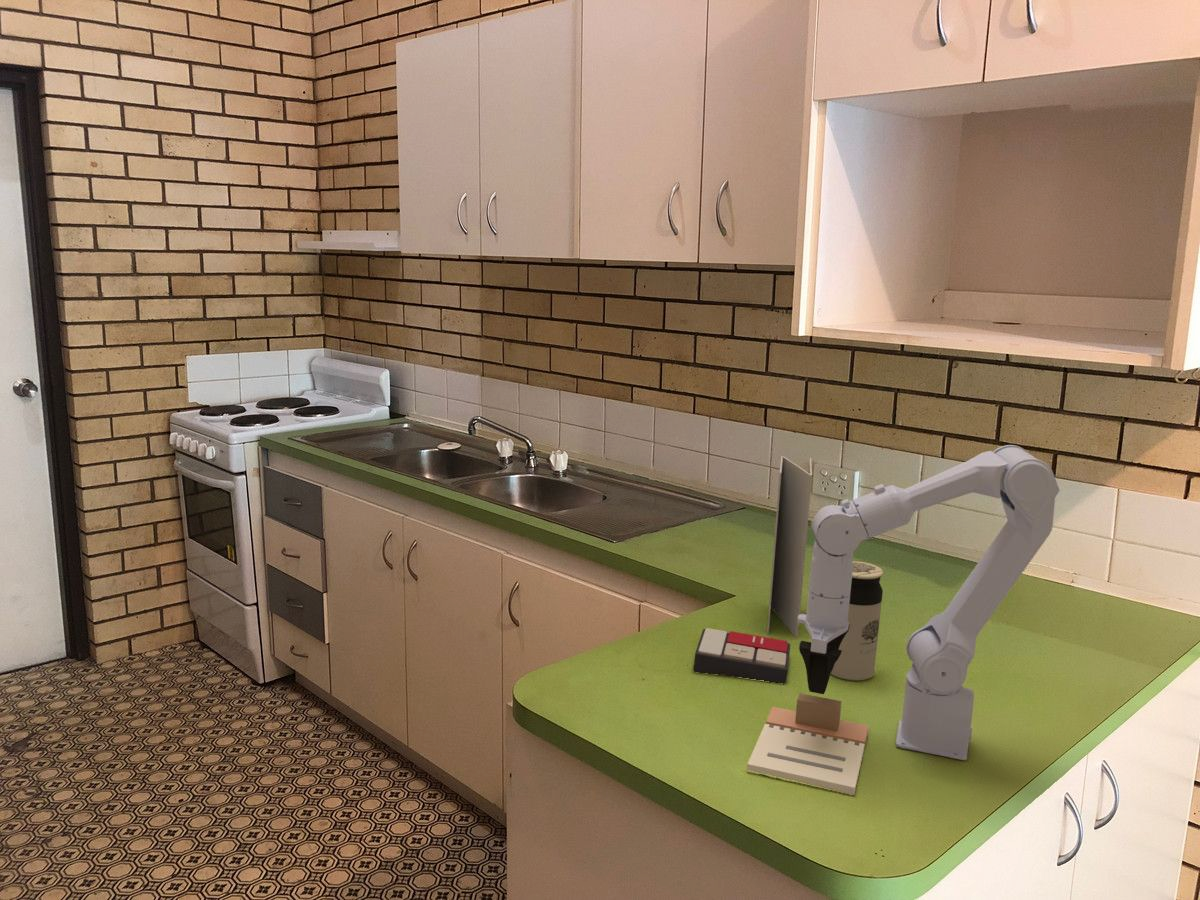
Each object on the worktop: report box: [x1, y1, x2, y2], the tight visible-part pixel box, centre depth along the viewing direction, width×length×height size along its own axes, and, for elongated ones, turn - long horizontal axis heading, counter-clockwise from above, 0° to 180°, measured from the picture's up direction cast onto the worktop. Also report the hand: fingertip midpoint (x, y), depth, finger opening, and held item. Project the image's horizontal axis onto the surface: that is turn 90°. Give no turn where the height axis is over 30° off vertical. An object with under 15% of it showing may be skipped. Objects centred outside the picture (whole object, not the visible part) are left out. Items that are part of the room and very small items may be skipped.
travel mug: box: [830, 560, 884, 682], centre depth 160 cm, size 8×8×18 cm
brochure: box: [766, 455, 813, 638], centre depth 179 cm, size 14×6×30 cm, turn 168°
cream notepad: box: [746, 723, 866, 796], centre depth 133 cm, size 14×12×1 cm
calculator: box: [692, 627, 791, 685], centre depth 163 cm, size 11×4×15 cm
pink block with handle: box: [765, 692, 870, 750], centre depth 141 cm, size 14×5×5 cm, turn 69°
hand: (820, 680), depth 140 cm, fingers open, 7 cm apart
